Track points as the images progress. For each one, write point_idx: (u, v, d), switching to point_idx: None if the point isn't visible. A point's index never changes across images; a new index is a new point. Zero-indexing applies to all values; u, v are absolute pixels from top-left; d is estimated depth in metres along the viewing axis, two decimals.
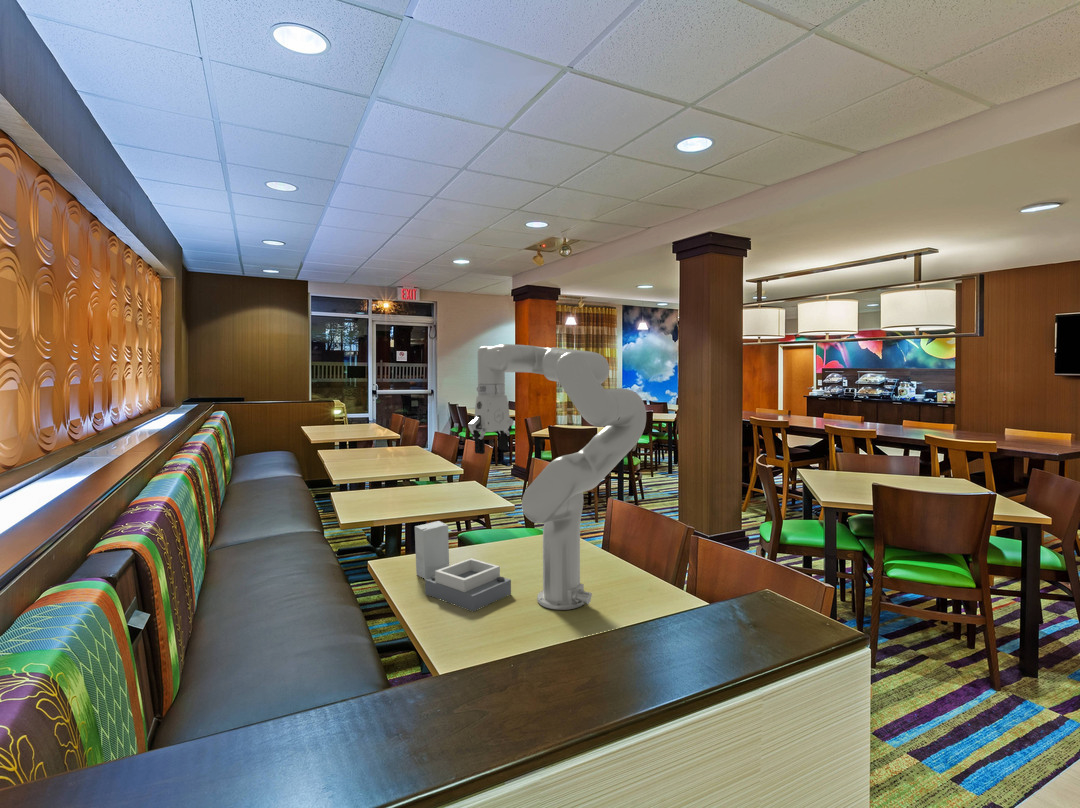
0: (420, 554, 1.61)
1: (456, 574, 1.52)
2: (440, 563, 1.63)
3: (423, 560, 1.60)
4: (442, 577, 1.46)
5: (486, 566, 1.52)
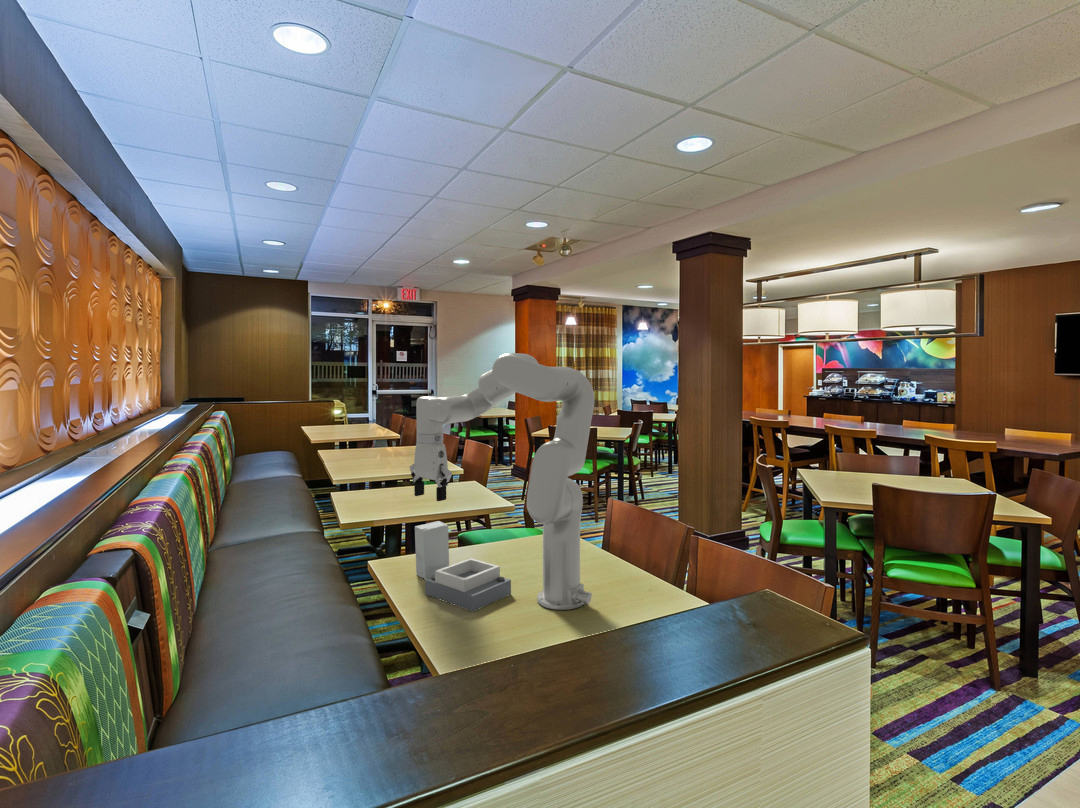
0: (420, 554, 1.61)
1: (456, 574, 1.52)
2: (440, 563, 1.63)
3: (423, 560, 1.60)
4: (442, 577, 1.46)
5: (486, 566, 1.52)
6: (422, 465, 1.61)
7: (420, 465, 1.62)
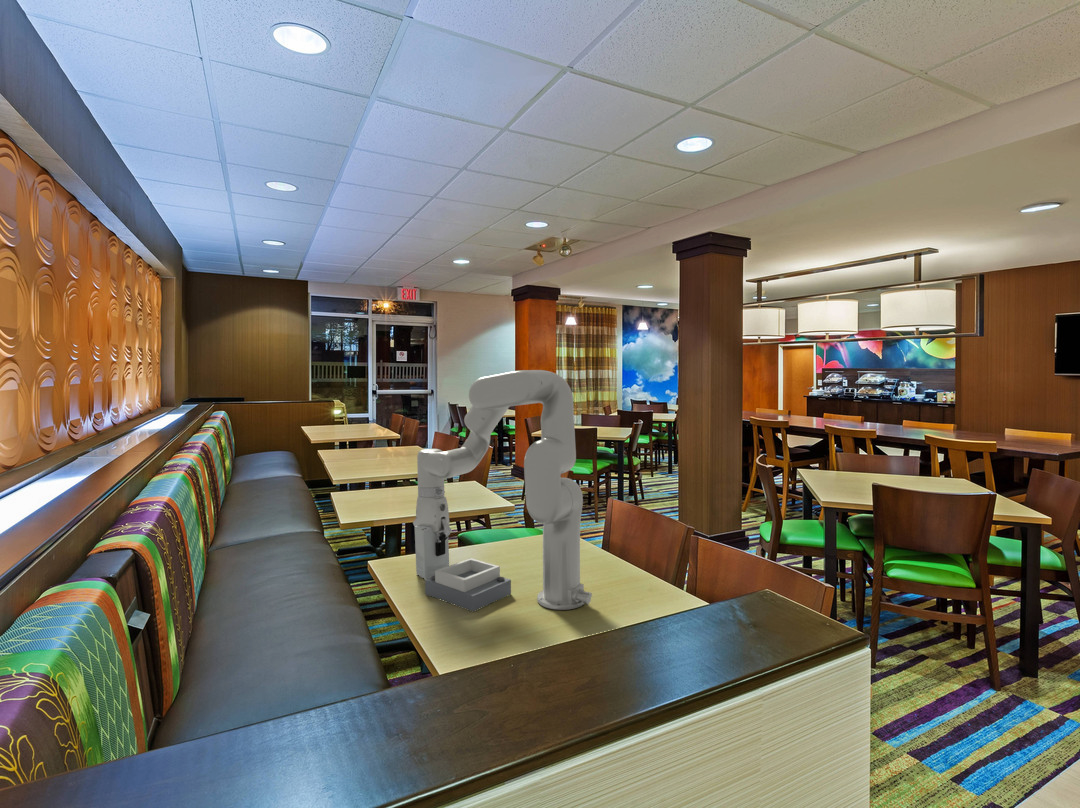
0: (420, 554, 1.61)
1: (456, 574, 1.52)
2: (440, 563, 1.63)
3: (423, 560, 1.60)
4: (442, 577, 1.46)
5: (486, 566, 1.52)
6: (424, 518, 1.62)
7: (421, 518, 1.63)
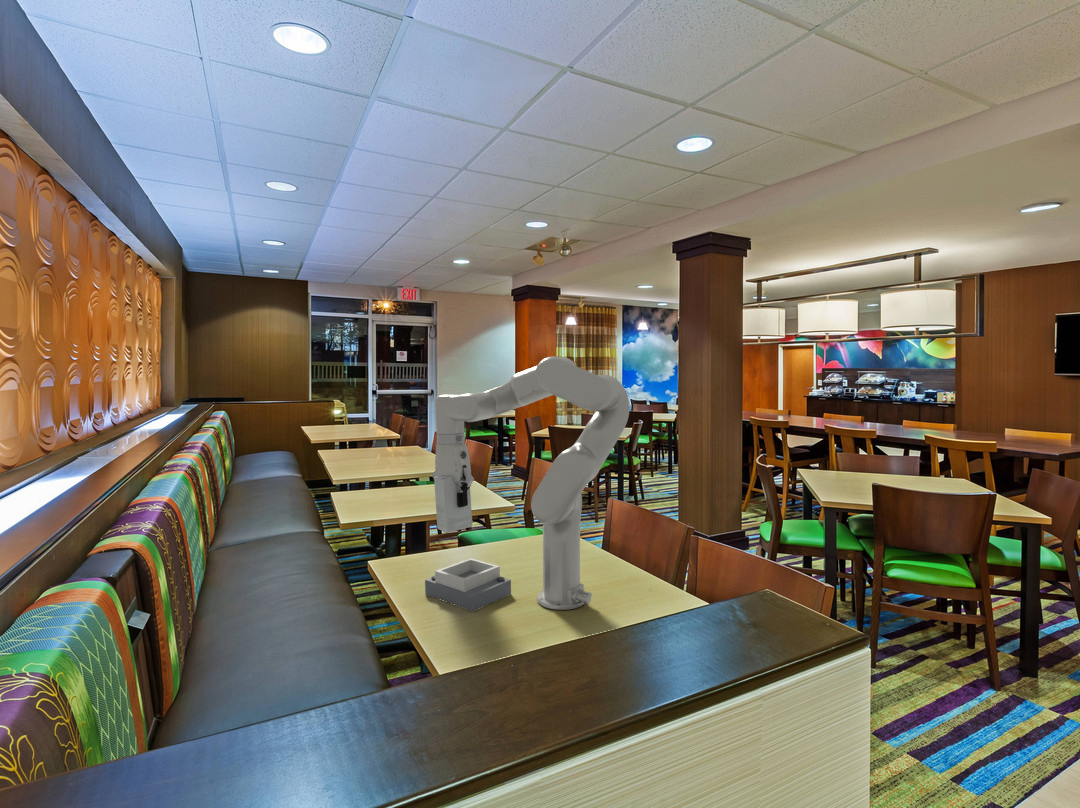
0: (441, 506, 1.51)
1: (456, 574, 1.52)
2: (462, 515, 1.53)
3: (444, 511, 1.50)
4: (442, 577, 1.46)
5: (486, 566, 1.52)
6: (444, 467, 1.52)
7: (441, 468, 1.53)
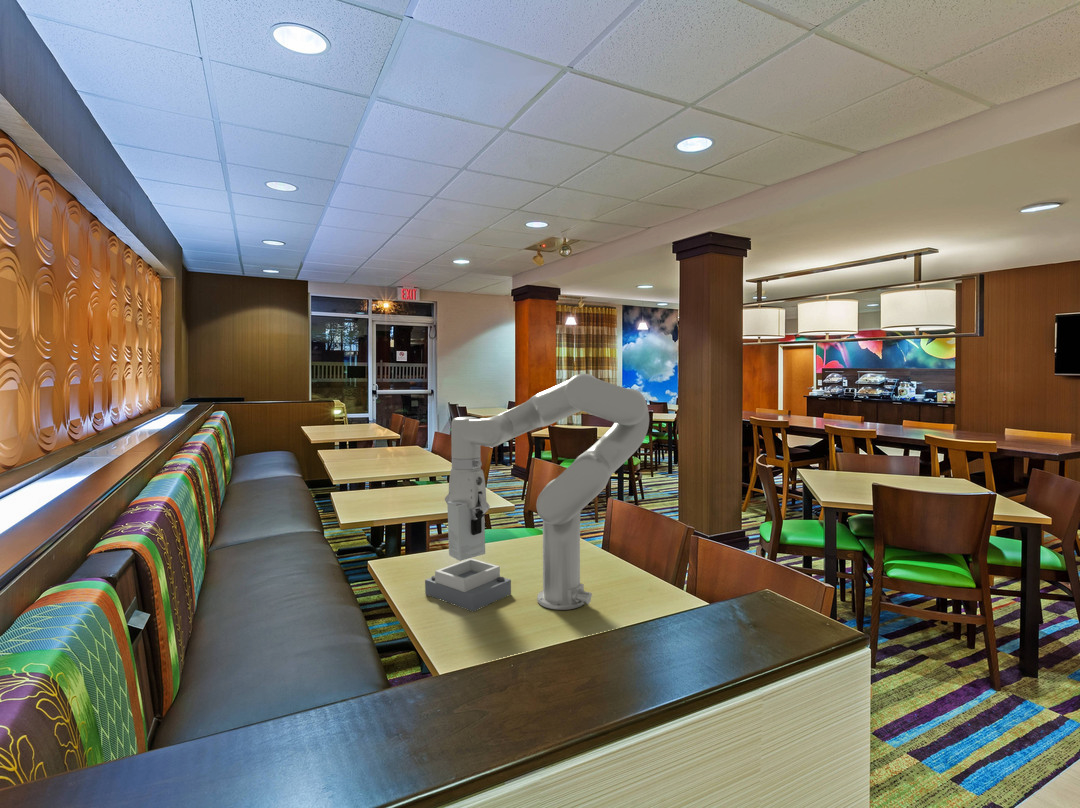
0: (454, 533, 1.46)
1: (456, 574, 1.52)
2: (475, 543, 1.47)
3: (457, 539, 1.45)
4: (442, 577, 1.46)
5: (486, 566, 1.52)
6: (458, 493, 1.46)
7: (455, 493, 1.47)
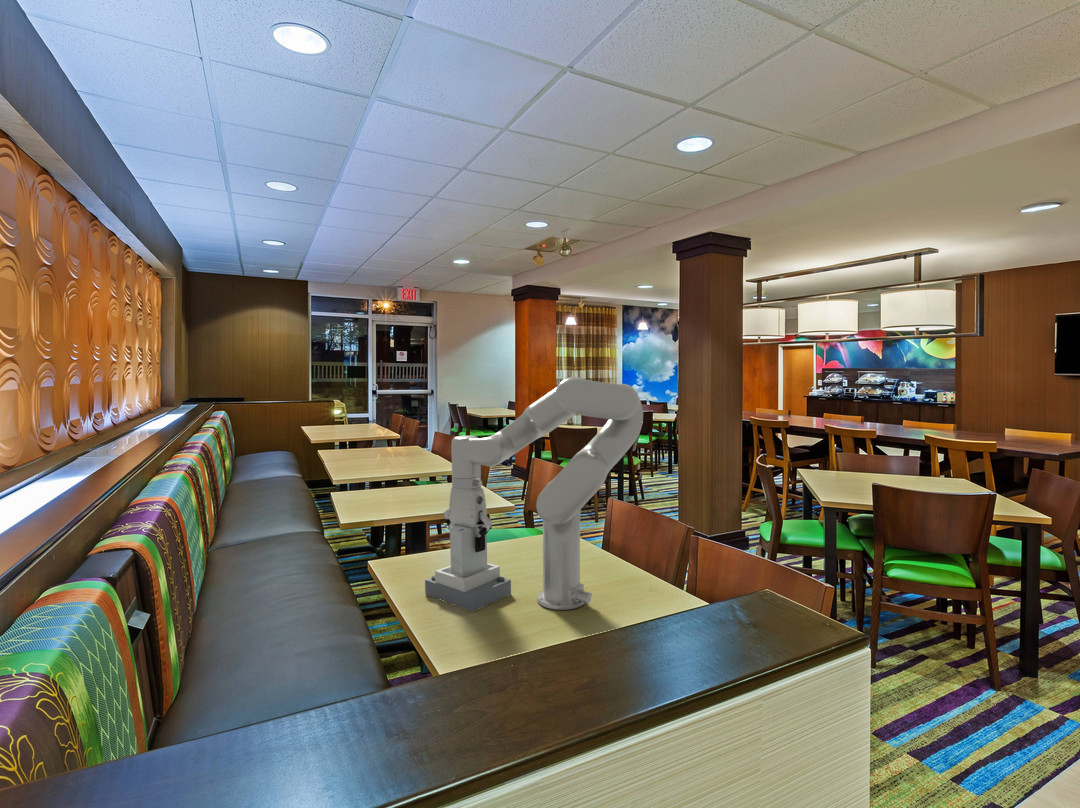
0: (456, 558, 1.46)
1: None
2: (478, 567, 1.47)
3: (460, 564, 1.45)
4: (442, 577, 1.46)
5: None
6: (459, 512, 1.47)
7: (456, 512, 1.47)
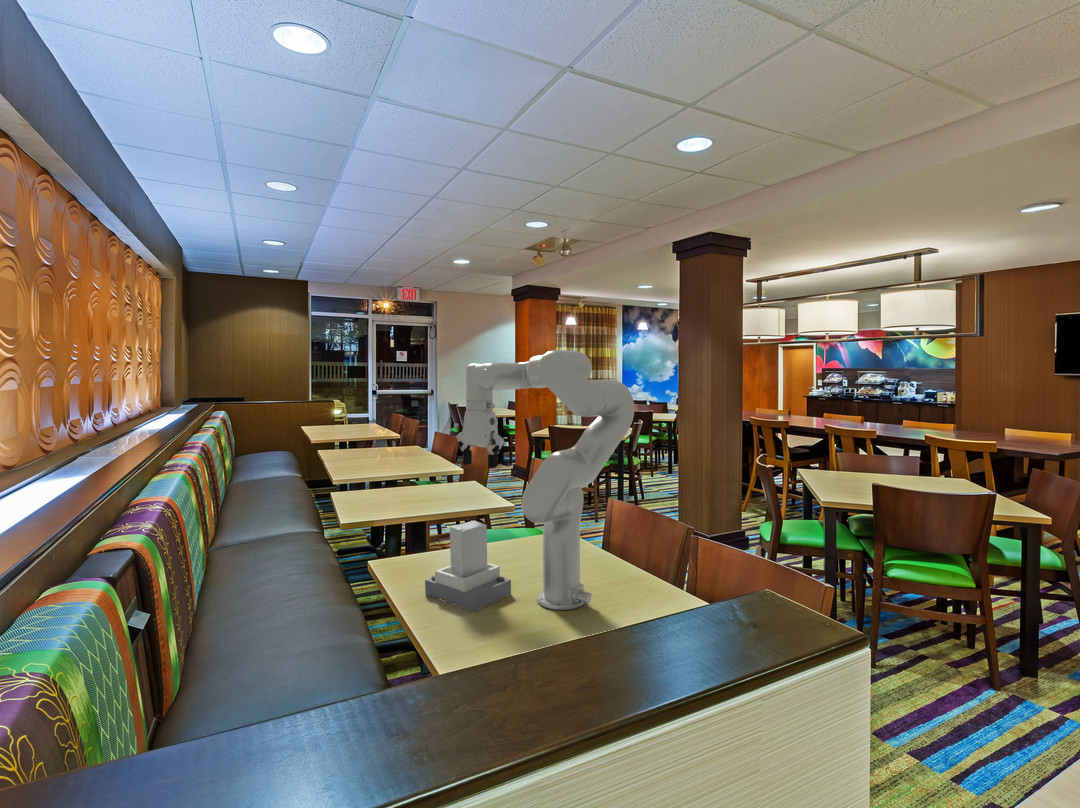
0: (456, 558, 1.46)
1: None
2: (478, 567, 1.47)
3: (460, 564, 1.45)
4: (442, 577, 1.46)
5: None
6: (472, 433, 1.60)
7: (469, 433, 1.61)
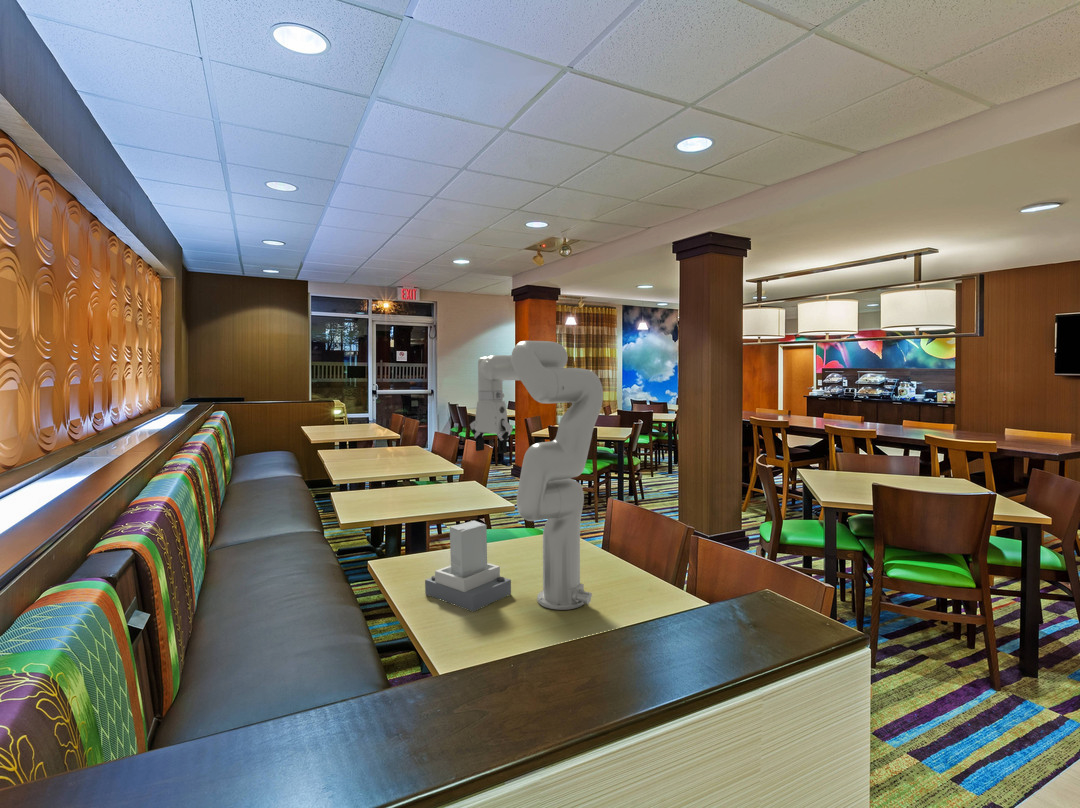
0: (456, 558, 1.46)
1: None
2: (478, 567, 1.47)
3: (460, 564, 1.45)
4: (442, 577, 1.46)
5: None
6: (484, 421, 1.73)
7: (481, 421, 1.74)
